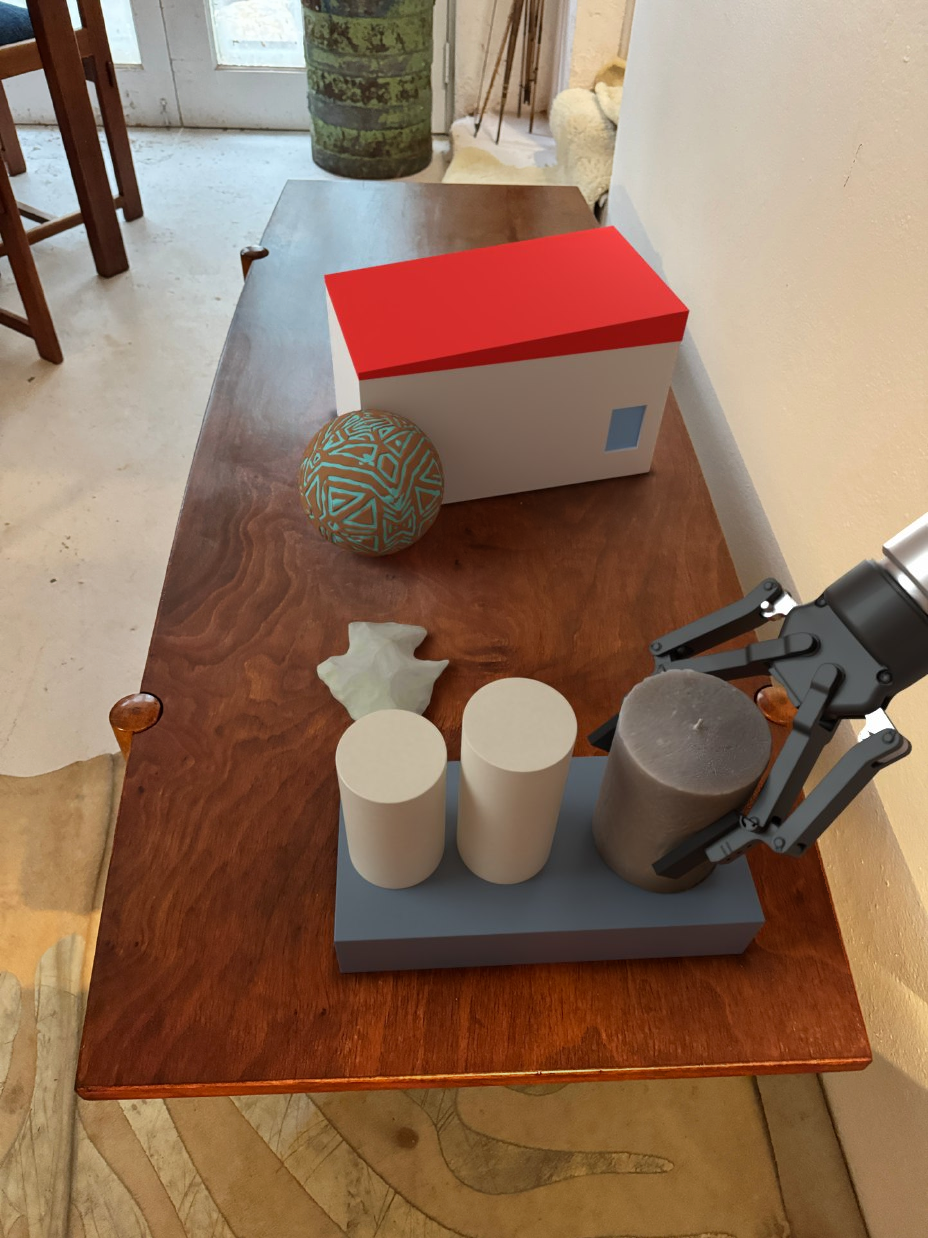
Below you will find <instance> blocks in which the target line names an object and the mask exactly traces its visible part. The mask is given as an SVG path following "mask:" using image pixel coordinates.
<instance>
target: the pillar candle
mask: <svg viewBox="0 0 928 1238" xmlns="http://www.w3.org/2000/svg"><path fill="white" fill-rule="evenodd" d="M630 691H631V692H630ZM630 691H629V692H630V693H629V694H628V696H627V697H625V699H624V702H623V704H622V703H621V704H622V705H621V708H620V711H619V712H620V714H619V719H618V723H617V727H616V731H615V735H614V738H613V741H612V746H611V749H610V753H609V752H608V755H607V756H608V760H607V763H606V767H605V770H604V774H603V778H602V781H601V785H600V789H599V793H598V797H597V800H596V805H595V808H594V811H593V820H592V834H593V837H594V843H595V846H596V848H597V850H598V852H599V854H600V856H601V857H602V859H603V860H604V862H605V863H606V864H607V865H608V866H609V867H610V869H611V870H612V871H613V872H614V873H615V874H617V875H618V876H619V877H620V878H622V879H624V880H625V881H626V882H628V883H630V884H632V885H634V886H637V887H639V888H641V889H644V890H646V891H650V892H653V893H659V894H669V893H670V894H674V893H680V892H685V891H686V890H687V889H688V890H690V889H693V888H694V887H696V886H698V885H699V884H701V883H702V882H704V881H705V880H706V879H707V878H708V877H709V876H710V875H711V874H712V872H713V871H714V869H715V867H716V866H717V864H716V863H712V862H711V861H710V859H708V860H706V861H705V862H703V863H702V864H700V865H698V866H697V867H695V868H694V869H692V870H691V871H689V872H688V873H686V874H685V875H683V876H682V877H680V878H679V879H677V880H676V879H671V878H667V877H663V876H659V875H656V873H655V871H654V869H653V867H652V865H651V864H653V863H654V862H656V861H657V860H659V859H660V858H662V857H663V856H665V855H666V854H668V853H669V852H671V851H672V850H674V849H675V848H677V847H678V846H680V845H681V844H683V843H684V842H686V841H687V840H689V839H690V838H692V837H693V836H695V835H696V834H698V833H699V832H701V831H702V830H704V829H705V828H707V827H708V826H709V825H711V824H712V823H714V822H715V821H717V820H718V819H720V818H721V817H723V816H724V815H726V814H727V813H729V812H730V811H732V810H735V811H738V812H740V813H743V814H745V810H746V808H747V806H748V805H749V803H750V801H751V799H752V797H753V796H754V794H755V792H756V790H757V788H758V786H759V784H760V782H761V780H762V778H763V776H764V775H765V773H766V770H767V769H768V767H769V763H770V761H771V758H772V757H771V756H772V750H773V735H772V731H771V729H770V725H769V722H768V720H767V718H766V716H765V714H764V713H763V711H762V710H761V708H760V707H759V706H758V705H757V703H756V702H755V701H753V700H752V698H751V697H750V696H749V695H748V694H746V692H744V691H742V690H741V689H739V688H738V687H736V686H735V685H733V684H732V683H730V682H729V681H724V680H722V679H720V678H717V677H715V676H712V675H708V674H705V673H700V672H696V671H694V670H692V669H684V670H680V669H674V670H668V671H667V672H661V673H660V674H657V675H655V676H651V677H649V676H647V677H643V680H642V681H641V682H638V683H637V684H635V685H634V686H633V688H632V689H631V690H630Z"/></svg>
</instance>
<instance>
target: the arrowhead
mask: <svg viewBox="0 0 928 1238" xmlns="http://www.w3.org/2000/svg"><path fill="white" fill-rule="evenodd" d="M347 627H348V633H347V634H348V642H349V647H348V650H347V652H345V653H344V654H343V655H333V656H332V655H331V656H330V657H328V658H327V659H326V660H325V661H323V662H321V663H320V664H318V665H317V667H316V671H317V675H318V678H319V680H321V681H323V682H324V684H325V685H326V686H327V687H328V688H329V691H330V693H331V695H332V696H333V698H335V699H336V700H337V701H338V702H339V703H340V704H342V705H343V706H344V707H345V709H346V710H347V712H348V715H349V716H350V718H351V719H352V720H354V722H356V721H357V720H359V719H360V718H362V717H364V716H366V715H368V714H371V713H374V712H377V711H381V710H389V709H397V710H405V711H410V712H413V713H416V714H418V715H420V716H422V715H423V714H424V712H425V711H426V709H427V707H428V706H429V705H430V703H431V698H432V694H433V690H434V685H435V682H436V680H438V678H439V677H440V676H441V675H442V673H443V672H444V670H445V669H446V668H447V667H448V665H449V664H450V660H449V659H443V660H442V659H441V660H440V661H439V660H438V661H437V660H431V659H430V660H429V659H427V660H422V659H418V658H416V657H415V655H414V653H415V650H416V648H418V647H420V645H421V644H422V643H423V641H424V639H425V638H426V636H427V635H428V631H427V629H426V628H424V627H423V626H421V625H412V624H408V623H397V622H394V621H391V622H383V623H382V622H381V623H380V622H372V621H353V622H350V623H348V626H347Z"/></svg>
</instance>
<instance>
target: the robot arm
mask: <svg viewBox="0 0 928 1238" xmlns="http://www.w3.org/2000/svg"><path fill="white" fill-rule="evenodd" d="M881 547H882V548H881V551H882V554H883V555H884V557H882V558H881V559H880V560H879V561H878V562H877V561H876V559H874V558H870V559H869V560H868V559H867V558H864V559H863V560H862V561H861V562H859V563H858V564H856V565H855V566H854V567H852V568H850V570H849V571H847V572H846V573H844V574H843V575H842V576H840V577H839V578H837V579H836V580H835V581H834V582H832V583H831V584H829V585H828V586H827V587H826V588H825V589H824V590H823V591H822V592H821V594H819V596H818V597H817V598H815V599H814V600H812V601H808V602H804V603H800V604H798V603H797V602H796V601H795V600H794V599H793V596H792V593H791V592H790V591H789V590H788V589H787V588H785V586H784V585H782V584H781V583H780V582H779V581H778V580H777V579H775V578H774V577H767V578H764V579H763V580H762V581H761V582H760V583H759V584H758V585H756V586H755V587H754V588H753V589H752V590H751V591H750V592H748V594H747V595H746V596H744V597H743V598H741V599H738V600H737V601H735V602H732V603H730V604H728V605H726V606H724V607H722V608H719V609H718V610H715V611H713V612H711V613H709V614H706V615H705V616H703V617H700V618H698V619H696V620H694V621H692V622H690V623H688V624H685V625H683V626H681V627H679V628H677V629H675V630H673V631H671V632H669V633H666V634H664V635H661V636H659V637H658V638H656V639H654V640H653V641H652V642H651V643H650V644H649V652H650V654H652V655H653V659H654V669H653V672H652V673H651V674H650V675H649V676H648V677H651V676H655V675H657V674H660V673H661V672H667V671H668V670H674V669H680V670H684V669H692V670H694V671H696V672H700V673H705V674H708V675H712V676H715V677H717V678H720V679H722V680H724V681H726V682H730V681H736V680H742V679H748V678H753V677H760V676H768V677H772V678H773V680H775V681H776V682H777V683H779V684H780V685H781V686H783V687H784V690H785V692H786V696H787V699H788V700H789V701H790V702H791V704H792V705H793V707H794V708H795V709H796V710H797V711H796V713H795V715H794V717H793V719H792V725H791V726H792V728H791V731H790V732H789V735H788V736H787V738H786V740H785V742H784V744H783V745H782V747H781V749H780V752H779V753H778V755H777V757H776V759H775V761H774V763H773V765H772V767H771V768H770V771H769V773H768V775H767V777H766V779H765V780H764V781H763V784H762V786H761V788H760V790H759V791H758V794H757V796H756V797H755V799H754V801H753V803H752V805H751V807H750V809H749V811H748V813H747V814H746V813H740V812H738V811H735V810H732V811H730V812H729V813H727V814H726V815H724V816H723V817H721V818H720V819H718V820H717V821H715V822H714V823H712V824H711V825H709V826H708V827H707V828H705V829H704V830H702V831H701V832H699V833H698V834H696V835H695V836H693V837H692V838H690V839H689V840H687V841H686V842H684V843H683V844H681V845H680V846H678V847H677V848H675V849H674V850H672V851H671V852H669V853H668V854H666V855H665V856H663V857H662V858H660V859H659V860H657V861H656V862H654V863H653V864H651V865H652V867H653V869H654V871H655V873H656V875H659V876H663V877H667V878H671V879H676V880H677V879H679V878H680V877H682V876H683V875H685V874H686V873H688V872H689V871H691V870H692V869H694V868H695V867H697V866H698V865H700V864H702V863H703V862H705V861H706V860H708V859H710V861H711V862H712V863H716V864H719V865H724V864H729V863H731V862H732V861H734V860H736V859H737V858H739V857H740V856H741V855H743V854H745V855H746V853H748V852H750V851H751V850H752V849H754V848H756V847H757V846H759V845H760V844H764V843H765V844H766V845H767V846H769V848H770V849H771V850H772V852H774V853H776V854H779V855H782V856H785V857H788V858H791V859H795V860H796V859H800V858H802V857H803V856H804V855H805V854H806V852H807V851H808V850H810V848H811V847H813V845H814V844H815V842H816V841H818V840H819V838H820V837H821V836H822V835H823V834H824V833H825V832H826V830H827V829H828V828H830V826H831V825H832V824H833V823H834V821H836V819H838V817H839V816H840V815H841V814H842V813H843V812H844V810H846V809H847V807H848V806H849V805H850V804H851V803H852V802H853V801H854V799H855V798H856V797H857V796H858V795H859V794H860V793H861V792H862V791H863V790H864V788H865V787H866V786H867V785H868V784H869V783H870V782H871V781H872V780H873V779H874V777H876V775H877V774H878V773H880V771H882V770H883V769H885V768H887V767H889V766H891V765H893V764H895V763H897V762H898V761H900V760H902V759H904V758H906V757H908V756H909V755H910V754H911V752H912V750H913V744H912V742H911V741H910V740H909V739H908V738H907V737H905V735H904V734H902V733H901V732H900V731H899V730H898V729H897V727H896V725H895V724H894V723H893V721H892V719H891V718H890V716H889V715H888V713H887V712H886V710H887V709H888V706H889V705H890V703H891V701H892V700H893V699H894V698H895V696H896V695H898V694H899V693H901V692H902V691H904V690H907V689H908V688H909V687H911V686H913V685H914V684H916V683H917V682H919V681H920V680H922V679H923V678H925V677H927V676H928V512H926V513H925V514H924V515H922V516H921V517H919V518H917V520H915V521H914V522H912V523H911V524H910V525H909V526H906V527H905V528H904V529H903V530H901V531H900V532H898V533H897V534H895V536H893V537H892V538H891V539H889V540H887V542H885V543H884V544H882V546H881ZM782 619H784V620H783V623H782V625H781V628H780V631H779V634H778V636H777V637H776V638H773V639H767V640H762V641H756V642H751V643H749V644H747V646H746V647H740V648H736V649H731V650H724V651H720V652H719V651H718V652H715V653H709V654H704V655H699V654H702V653H704V652H706V651H708V650H711V649H714V648H716V647H718V646H721V645H722V644H724V643H726V642H728V641H731V640H733V639H735V638H738V637H740V636H743V635H745V634H747V633H749V632H751V631H753V630H756V629H758V628H760V627H761V626H763V625H765V624H767V623H768V622H777V621H781V620H782ZM698 655H699V656H698ZM631 691H632V690H630V691H629V692H627V693H626V694H624V695H623V697H622V699H621V701H620V702H621V704H623V702H624V699H625V697H627V696H628V694H629V693H630V692H631ZM619 714H620V711H618V712H616V714H614V715H613V716H612V717H610V718H609V719H608V720H607V721H605V722H604V723H602V724H601V725H600V726H599V727H597V728H596V729H595V730H594V731H592V732H591V733H589V735H587V736H586V739H587V741H588V743H589V745H590V746H592V747H594V748H596V749H599V750H600V751H601V750H602V751H604V752H606V753H608V754H609V753H610V749H611V746H612V741H613V738H614V735H615V731H616V727H617V723H618V719H619ZM843 720H866V722H865V723H866V724H865V726H864V727H863V729H861V730H860V731H859V733H858V736H857V741H858V742H856V744H854V745H853V746H852V747H851V748H849V750H848V751H846V752H845V753H844V754H843V755H842V757H841V758H840V759H839V760H838V761H837V762H836V763H835V765H834V766H832V768H831V769H830V770H829V771H828V772H827V773H826V775H825V776H824V777H823V778H822V779H820V781H819V782H818V784H817V785H816V786H815V787H814V788H813V789H812V790H811V791H810V792H809V794H808V795H806V797H805V798H804V799H803V800H802V802H801V803H799V805H798V806H797V807H796V808H795V809H794V811H793V812H791V810H792V809H793V807H794V805H795V802H796V801H797V799H798V797H799V795H800V793H801V791H802V790H803V788H804V786H805V784H806V782H807V780H808V779H809V777H810V775H811V772H812V771H813V769H814V767H815V765H816V763H817V761H818V759H819V757H820V755H821V754H822V752H823V750H824V748H825V746H826V745H828V744H830V743H831V741H832V740H833V738H834V736H835V734H836V733H837V730H838V728H839V726H840V725H841V722H842V721H843ZM790 812H791V814H790Z"/></svg>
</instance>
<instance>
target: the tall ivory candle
mask: <svg viewBox="0 0 928 1238" xmlns="http://www.w3.org/2000/svg"><path fill="white" fill-rule="evenodd" d="M575 714H576V713H575V712H574V709H573V707H572V706H571V704H570V703H569V701H568V700H567V699H566V697H564V695H562V694H561V692H559V691H558V690H556V689H555V688H553V687H552V686H550V685H548V684H546V683H544V682H541V681H540V680H535V679H531V678H527V677H507V678H501V679H497V680H494V681H492V682H490V683H488V684H485V685H484V686H482V687H481V688H479V689H478V690H477V691H476V692H475V693H473V695H472V696H471V697H470V699H469V700H468V701H467V703H466V706H465V708H464V710H463V714H462V724H461V725H462V726H461V743H460V744H461V745H460V761H461V762H460V782H459V801H458V821H457V847H458V851H459V854H460V856H461V858H462V860H463V862H464V863H465V865H466V866H467V867H468V868H469V869H470V870H471V871H472V872H473V873H474V874H476V875H477V876H479V877H480V878H482V879H484V880H486V881H489V882H492V883H497V884H515V883H519V882H523V881H525V880H528V879H529V878H531V877H533V876H534V875H535V874H537V873H538V872H539V871H540V870H541V869H542V868H543V866H544V865H545V863H546V861H547V859H548V857H549V854H550V850H551V846H552V841H553V837H554V833H555V828H556V824H557V819H558V815H559V811H560V806H561V802H562V798H563V793H564V789H565V784H566V780H567V776H568V771H569V767H570V762H571V758H572V757H573V753H574V750H575V749H574V748H575V744H576V740H577V735H578V722H577V717H576V715H575Z"/></svg>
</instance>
